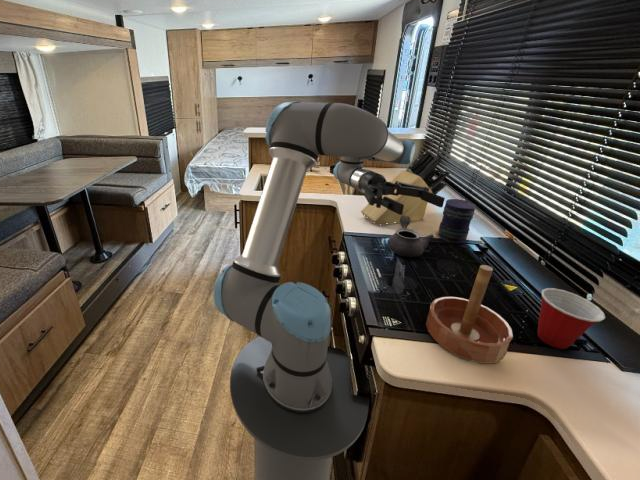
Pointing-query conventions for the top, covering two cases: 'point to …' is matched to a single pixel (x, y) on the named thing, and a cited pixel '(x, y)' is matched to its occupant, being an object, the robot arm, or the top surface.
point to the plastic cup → (565, 317)
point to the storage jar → (456, 220)
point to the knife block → (413, 206)
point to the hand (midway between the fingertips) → (422, 206)
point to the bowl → (487, 324)
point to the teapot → (408, 240)
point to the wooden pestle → (473, 305)
